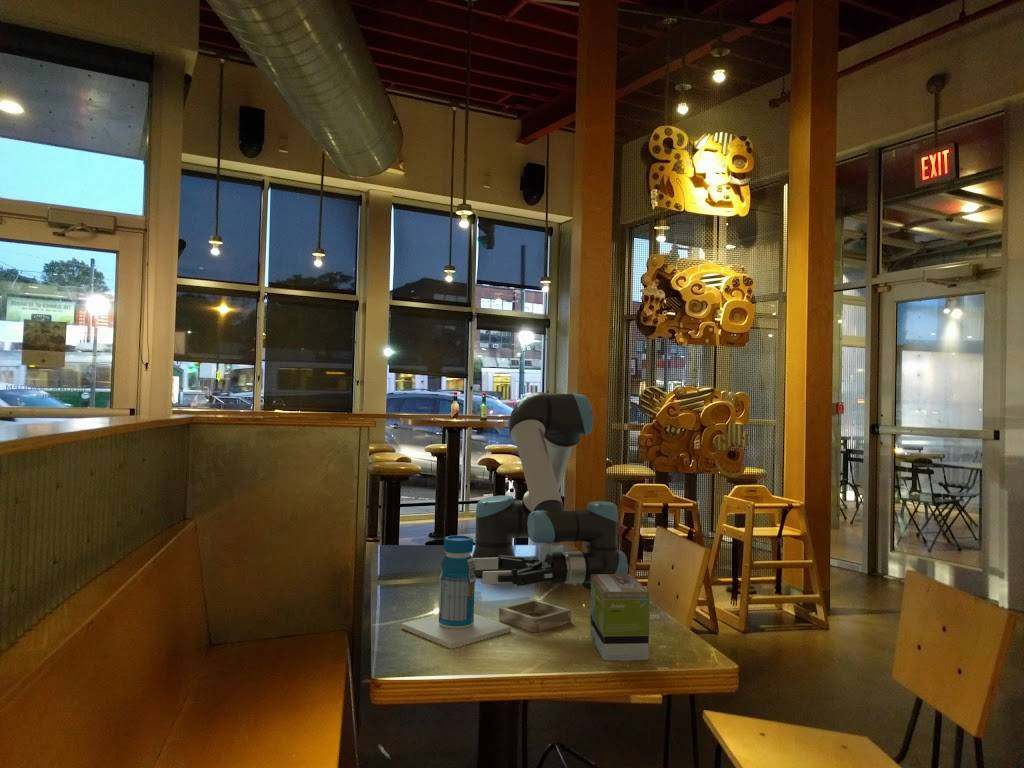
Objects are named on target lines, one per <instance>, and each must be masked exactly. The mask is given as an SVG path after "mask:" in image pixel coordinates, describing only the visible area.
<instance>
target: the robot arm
mask: <svg viewBox="0 0 1024 768" xmlns="http://www.w3.org/2000/svg"><path fill="white" fill-rule="evenodd" d="M508 420H509V421H508V429H509V430H508V431H509V434H510V438H511V440H512V442H513V443H515V444H516V447H517V452H518V455H519V459H520V460H519V461H520V463H521V467H522V471H523V475H524V479H525V483H526V486H527V487H526V488H527V491H526V492H525V493H524V495H523V496H522V499H521V500H520V499H518V500H515V498H514V496H512V495H507V494H505V495H495V496H493V495H492V496H488V497H483V498H481V499H480V500H479V501H478V502H477V503H476V506H475V507H476V508H475V535H474V536H475V537H474V548H473V551H472V555H471V557H472V558H473V560H474V563H475V570H474V574H475V577H476V576H477V577H482V579H481V581H482V585H498V584H499V585H504V584H512V585H516V586H518V587H521V586H527V585H531V584H532V585H533V584H538V583H543V582H546V583H547V584H548V585H550V586H551V585H552V586H553V585H554V586H555V585H558V586H559V585H564V584H566V585H572V586H574V587H577V584H582V583H591V574H628V570H629V564H628V558H627V556H626V553H625V552H623V551H622V550H618V549H619V548H618V537H619V536H618V533H619V510H618V505H617V504H615V503H614V502H611V501H601V500H598V501H597V500H596V501H590V502H587V505H586V509H583V510H565V507H564V503H563V501H562V496H561V494H560V489H561V486H562V483H563V478H564V477H565V473H566V469H567V468H568V467H567V466H568V464H569V459H570V456H571V453H572V450H573V447H576V446H578V444H579V443H580V441H581V438H582V435H583V436H587V435H590V434H591V432H592V431H593V428H594V427H593V426H594V414H593V406H592V404H591V401H590V399H589V397H587V396H586V394H585V395H584V394H581V393H574V392H572V393H559V392H558V393H555V392H540V391H538V392H532V393H528V394H526V395H525V396H523V397H522V398H520V400H519V401H517V403H516V404H515V405H514V407H513V408H512V411H511V413H510V417H509V419H508ZM516 538H517V539H519V538H520V539H523V538H525V539H529V540H530V541H531V542H533V543H538V544H539V543H540V544H550V545H551V544H557V543H559V544H560V543H583V542H587V544H586V547H587V551H585V552H582V551H564V552H562V551H561V552H560V551H559V552H558V551H557V552H556V551H555V552H551V551H550V552H548V553H547V554H546V555H545V558H544V560H543V561H542V560H540V559H539V558H538V557H537V556H536V557H535V556H533V557H528V556H527V557H526V556H515V553H514V550H513V540H514V539H516Z"/></svg>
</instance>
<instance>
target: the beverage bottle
mask: <svg viewBox="0 0 1024 768" xmlns="http://www.w3.org/2000/svg"><path fill="white" fill-rule="evenodd" d="M443 551H444V553H445V556H444V557H443V558H442V560H441V563H440V566H439V569H440V571H441V572H440V575H439V578H438V579H439V599H438V600H439V603H438V605H439V606H438V610H439V611H438V614H439V624H440V625H441V626H443V627H445V628H450V629H463V628H468V627H470V626H472V625H473V623H474V614H475V591H476V590H475V589H476V587H475V585H476V580H477V578H476V575H475V574H474V570H475V563H474V560H473V558H472V555H471V554H473V552H474V538H473V537H472V536H470V535H469V536H468V535H459V534H458V535H449V536H448V535H447V536H445V537H444V540H443Z"/></svg>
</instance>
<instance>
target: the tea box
mask: <svg viewBox="0 0 1024 768" xmlns="http://www.w3.org/2000/svg"><path fill="white" fill-rule="evenodd" d="M589 615H590V617H589V618H590V630H589V632H590V633H589V635H590V639H591V640H592V642H593V644H594V646H595V648H596V649H597V650H596V651H598V653H599V655H600V657H601V659H602V660H603V661H604V660H615V661H616V660H618V661H616V662H620V661H621V662H622V661H623V662H627V661H629V662H630V661H633V660H634V662H635V660H636V661H648V660H649V652H650V646H649V645H650V644H649V642H650V639H649V638H650V637H649V636H650V591H649V590H648V589H647V588H646V587H645V586H644V585H643V584H642V583H641V582H640V581H639V579H637V578H636V577H635V576H634V575H633V574H632V573H627V574H591V588H590V614H589ZM615 661H614V662H615Z"/></svg>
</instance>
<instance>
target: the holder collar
mask: <svg viewBox="0 0 1024 768" xmlns="http://www.w3.org/2000/svg"><path fill="white" fill-rule="evenodd" d="M531 613H532V614H536V613H537V615H540V616H537V617H535V616H531V615H532V614H531ZM527 614H528V615H527ZM500 620H501V621H500ZM498 621H500V622H502V621H504V622H503V623H505V622H507V623H506V624H508V623H509V624H508V625H511V624H512V626H514V625H515V626H514V627H517V626H518V628H520V627H521V628H520V629H523V630H525V629H526V631H528V630H529V632H531V631H532V633H535V634H537V633H541V632H545V631H547V629H548V630H551V629H554V628H557V626H558V627H560V625H561V626H563V624H564V625H568V624H571V623H572V609H569V608H566V607H562V606H559V605H555V604H552V603H549V602H545V601H542V600H539V599H536V598H533V599H529V600H525V601H521V602H517V603H514V604H510V605H505V606H502V607H499V608H498ZM567 623H568V624H567ZM550 628H551V629H550Z"/></svg>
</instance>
